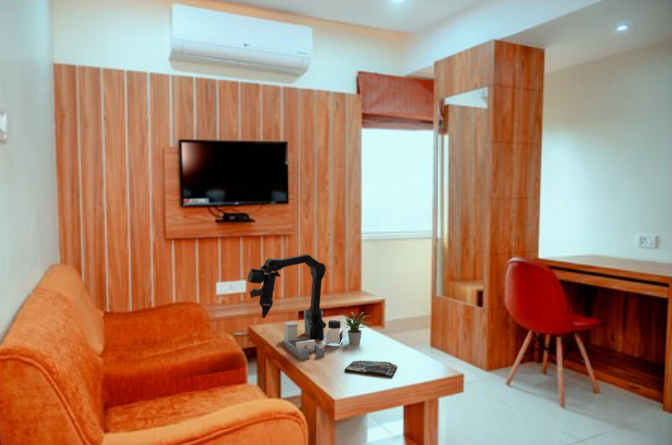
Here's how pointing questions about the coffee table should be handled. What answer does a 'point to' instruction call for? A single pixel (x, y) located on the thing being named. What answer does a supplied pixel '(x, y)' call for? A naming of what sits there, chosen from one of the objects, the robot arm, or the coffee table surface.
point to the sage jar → (290, 330)
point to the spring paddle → (306, 345)
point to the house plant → (354, 329)
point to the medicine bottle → (334, 332)
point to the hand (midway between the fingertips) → (263, 316)
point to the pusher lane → (305, 353)
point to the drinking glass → (307, 324)
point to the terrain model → (372, 368)
